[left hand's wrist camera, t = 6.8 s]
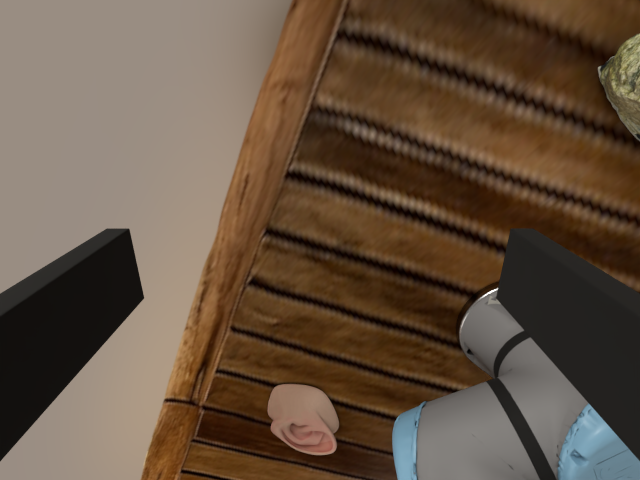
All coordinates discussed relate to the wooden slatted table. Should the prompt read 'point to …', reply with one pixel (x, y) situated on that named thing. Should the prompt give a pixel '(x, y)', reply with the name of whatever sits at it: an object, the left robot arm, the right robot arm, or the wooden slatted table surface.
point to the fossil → (624, 83)
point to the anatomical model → (303, 418)
